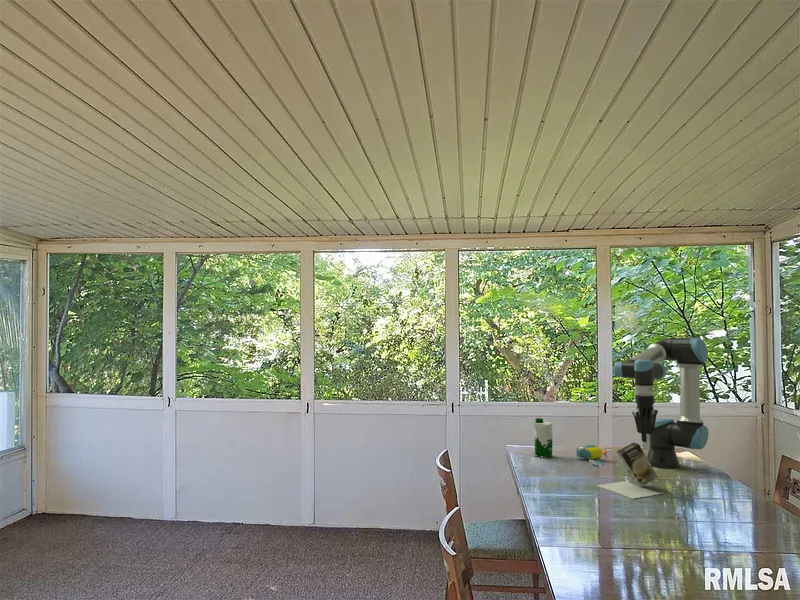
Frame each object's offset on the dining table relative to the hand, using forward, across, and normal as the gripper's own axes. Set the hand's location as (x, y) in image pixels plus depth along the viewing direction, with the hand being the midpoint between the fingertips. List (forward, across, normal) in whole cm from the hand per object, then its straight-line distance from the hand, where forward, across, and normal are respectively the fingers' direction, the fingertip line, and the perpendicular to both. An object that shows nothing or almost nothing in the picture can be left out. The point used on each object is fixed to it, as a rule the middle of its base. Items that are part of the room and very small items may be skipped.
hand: (646, 448), depth 236 cm
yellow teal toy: (+18, +13, +49) cm, 54 cm away
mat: (+16, -12, 0) cm, 20 cm away
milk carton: (+17, -4, +66) cm, 68 cm away
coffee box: (+14, 0, 0) cm, 14 cm away
